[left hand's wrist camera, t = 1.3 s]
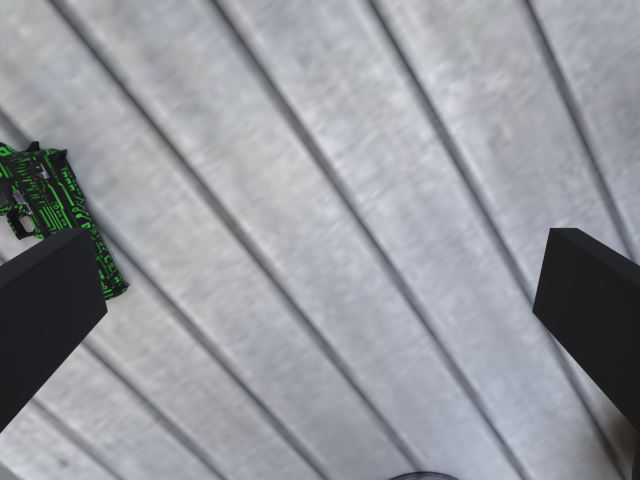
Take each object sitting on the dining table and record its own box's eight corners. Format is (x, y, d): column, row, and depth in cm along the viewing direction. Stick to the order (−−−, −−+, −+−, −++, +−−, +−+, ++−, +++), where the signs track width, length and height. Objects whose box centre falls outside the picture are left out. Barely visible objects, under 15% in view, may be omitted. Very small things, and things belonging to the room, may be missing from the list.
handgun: (-107, 164, 37) (54, 132, 35) (-76, 157, 39) (74, 127, 38) (-16, 321, 43) (124, 299, 41) (5, 305, 45) (137, 284, 44)
